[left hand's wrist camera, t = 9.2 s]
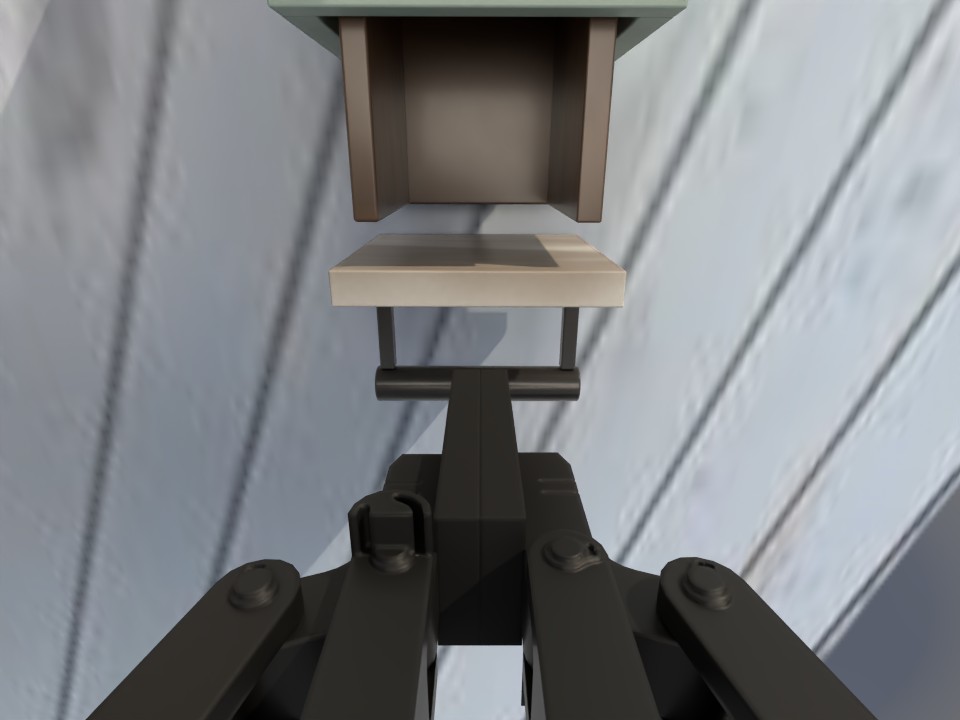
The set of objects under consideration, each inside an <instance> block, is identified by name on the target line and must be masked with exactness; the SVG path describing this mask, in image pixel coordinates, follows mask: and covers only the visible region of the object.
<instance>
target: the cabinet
mask: <svg viewBox="0 0 960 720" xmlns="http://www.w3.org/2000/svg"><path fill="white" fill-rule="evenodd" d="M687 3H688V0H268V5H269V7H270V8H272V9H273V10H274V11H276V12H277V13H279V14H280V15H282V17H284V18H285V19H286V20H288V21H289V22H290V23H292V24H293V25H295V26H296V27H297V28H299V29H300V30H301V31H303V32H304V33H305V34H307V35H308V36H309V37H311V38H312V39H314V40H315V41H316V42H318V43H319V44H320V45H322V46H323V47H324V48H326V49H327V50H328V51H330V52H331V53H333V54H334V55H335V56H337V57H338V58H339V59H341V48H340V36H339V23H338V16H496V17H618V22H617V34H616V47H615V59H614V61H616V60H617V59H618V58H620V57H621V56H622V55H624V54H625V53H626V52H628V51H629V50H630V49H632V48H633V47H634V46H636V45H637V44H638V43H640V42H641V41H643V40H644V39H645V38H647V37H648V36H649V35H651V34H652V33H653V32H655V31H656V30H657V29H659V28H660V27H661V26H663V25H664V24H665V23H667V22H668V21H669V20H671V19H672V18H673V17H674V16H676V15H677V14H679V13H680V12H681V11H683V10H684V9H685V8H686V7H687Z"/></svg>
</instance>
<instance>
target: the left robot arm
mask: <svg viewBox="0 0 960 720" xmlns="http://www.w3.org/2000/svg"><path fill="white" fill-rule="evenodd" d="M348 521H349V530H350V540H351V549H352V558H351V561H350V562H348V563H346V564H344V565H342V566H340V567H338V568H336V569H333V570H330V571H327V572H323V573H319V574H315V575H311V576H307V577H303V578H300V574H299V572H298V571H297V570H296V568H295V567H294V566H293V565H292V564H290V563H287V562H284V561H282V560H270V559H264V560H259V561H255V562H250V563H247V564H245V565H242V566H240V567H238V568H236V569H234V570H232V571H230V572H229V573H228V574H226V575H225V576H224V577H223V578H221V579H220V580H219V581H218V582H217V583H216V584H215V585H214V586H213V587H212V588H211V589H210V590H209V591H208V592H207V593H206V594H205V595H204V596H203V597H202V598H201V599H200V600H199V601H198V602H197V603H196V605H195V606H194V607H193V608H192V609H191V610H190V611H189V612H188V613H187V614H186V615H185V616H184V617H183V618H182V619H181V620H180V621H179V622H178V623H177V624H176V625H175V627H174V628H173V629H172V630H171V631H170V632H169V633H168V634H167V635H166V636H165V637H164V638H163V639H162V640H161V641H160V642H159V643H158V644H157V645H156V646H155V648H154V649H153V650H152V651H151V652H150V653H149V654H148V655H147V656H146V657H145V658H144V659H143V660H142V661H141V662H140V663H139V664H138V665H137V666H136V667H135V668H134V670H133V671H132V672H131V673H130V674H129V675H128V676H127V677H126V678H125V679H124V680H123V681H122V682H121V683H120V684H119V685H118V686H117V687H116V688H115V689H114V691H113V692H112V693H111V694H110V695H109V696H108V697H107V698H106V699H105V700H104V701H103V702H102V703H101V704H100V705H99V706H98V707H97V708H96V709H95V710H94V711H93V713H92V714H91V715H90V716H89V717H88V718H87V719H86V720H434V711H435V699H436V686H437V674H438V673H437V642H438V645H522V640H523V673H522V699H521V706H525V711H526V720H878V719H877V718H876V717H875V716H874V715H873V714H872V713H871V712H870V711H869V710H868V709H867V708H866V707H865V706H864V705H863V704H862V703H861V702H860V701H859V700H858V699H857V697H856V696H855V695H854V694H853V693H852V692H851V691H850V690H849V689H848V688H847V687H846V686H845V685H844V684H843V683H842V682H841V681H840V680H839V679H838V678H837V677H836V676H835V675H834V673H833V672H832V671H831V670H830V669H829V668H828V667H827V666H826V665H825V664H824V663H823V662H822V661H821V660H820V659H819V658H818V657H817V656H816V655H815V654H814V653H813V652H812V651H811V650H810V648H809V647H808V646H807V645H806V644H805V643H804V642H803V641H802V640H801V639H800V638H799V637H798V636H797V635H796V634H795V633H794V632H793V631H792V630H791V629H790V628H789V627H788V626H787V625H786V623H785V622H784V621H783V620H782V619H781V618H780V617H779V616H778V615H777V614H776V613H775V612H774V611H773V610H772V609H771V608H770V607H769V606H768V605H767V604H766V603H765V602H764V601H763V600H762V598H761V597H760V596H759V595H758V594H757V593H756V592H755V591H754V590H753V589H752V588H751V587H750V586H749V585H748V584H747V583H746V582H745V581H744V580H743V579H742V578H741V577H739V576H738V575H737V574H736V573H734V572H733V571H732V570H731V569H729V568H727V567H725V566H723V565H721V564H718V563H716V562H714V561H711V560H706V559H702V558H698V557H684V558H678V559H675V560H673V561H670V562H668V563H667V564H666V565H665V567H664V568H663V569H662V570H661V574H660V576H658V575H654V574H650V573H645V572H641V571H637V570H634V569H630V568H627V567H624V566H622V565H620V564H618V563H616V562H614V561H612V560H611V559H609V557H608V555H607V553H606V551H605V550H604V548H603V546H602V545H601V544H600V543H599V542H597V541H596V540H595V539H593V538H592V535H591V532H590V529H589V525H588V522H587V519H586V515H585V512H584V509H583V505H582V502H581V499H580V495H579V494H578V489H577V485H576V482H575V479H574V475H573V472H572V469H571V465H570V464H569V463H568V462H567V461H566V460H565V459H564V458H563V457H562V456H561V455H560V454H559V453H518V450H517V442H516V434H515V427H514V419H513V412H512V404H511V396H510V389H509V381H508V373H507V369H453V373H452V381H451V389H450V396H449V404H448V412H447V419H446V427H445V434H444V442H443V450H442V454H402V455H401V456H400V457H399V458H398V459H397V460H396V461H395V462H394V463H393V464H392V465H391V466H390V467H389V471H388V474H387V477H386V483H385V484H384V487H383V491H379V492H376V493H373V494H371V495H368V496H365V497H364V498H362V499H361V500H359V501H358V502H357V503H355V504H354V505H353V507H352V508H351V510H350V511H349V513H348Z"/></svg>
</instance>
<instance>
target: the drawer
mask: <svg viewBox="0 0 960 720" xmlns="http://www.w3.org/2000/svg"><path fill="white" fill-rule="evenodd" d="M617 22H618V17H496V16H338V23H339V36H340V48H341V61H342V74H343V87H344V99H345V112H346V125H347V138H348V150H349V163H350V176H351V189H352V202H353V214H354V220H355V221H356V222H377V221H379V220H381V219H383V218H385V217H386V216H388V215H390V214H391V213H393V212H395V211H397V210H398V209H400V208H402V207H404V206H405V205H407V204H548V205H550V206H552V207H553V208H555V209H557V210H558V211H560V212H561V213H563V214H565V215H566V216H568V217H569V218H571V219H573V220H574V221H576V222H578V223H600V222H601V220H602V208H603V195H604V183H605V171H606V158H607V146H608V133H609V121H610V109H611V96H612V84H613V71H614V59H615V47H616V34H617ZM329 281H330V292H331V302H332V306H334V307H377V319H378V334H379V349H380V364H381V366H378V368H377V370H376V376H375V392H376V397H377V399H378V400H379V401H449V396H450V389H451V381H452V373H453V369H507V373H508V381H509V389H510V396H511V401H577V400H578V399H579V395H580V373H579V369H578V367H577V366H575V359H576V345H577V331H578V317H579V307H623V302H624V292H625V282H626V271H625V270H623V269H622V268H621V267H619V266H618V265H617V264H615V263H614V262H613V261H611V260H610V259H609V258H607V257H606V256H605V255H603V254H602V253H601V252H599V251H598V250H597V249H595V248H594V247H593V246H591V245H590V244H589V243H587V242H586V241H585V240H583V239H582V238H581V237H579V236H578V235H529V234H379V235H378V236H377V237H375V238H374V239H372V240H371V241H370V242H368V243H367V244H365V245H364V246H363V247H361V248H360V249H358V250H357V251H356V252H354V253H353V254H352V255H350V256H349V257H347V258H346V259H345V260H343V261H342V262H340V263H339V264H338V265H336V266H335V267H333V268H332V269H331V270H329ZM393 307H563V308H562V325H561V342H560V359H559V365H560V366H396V345H395V328H394V310H393Z"/></svg>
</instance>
